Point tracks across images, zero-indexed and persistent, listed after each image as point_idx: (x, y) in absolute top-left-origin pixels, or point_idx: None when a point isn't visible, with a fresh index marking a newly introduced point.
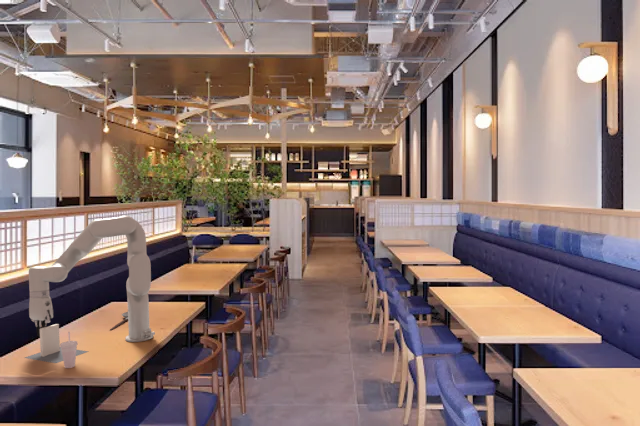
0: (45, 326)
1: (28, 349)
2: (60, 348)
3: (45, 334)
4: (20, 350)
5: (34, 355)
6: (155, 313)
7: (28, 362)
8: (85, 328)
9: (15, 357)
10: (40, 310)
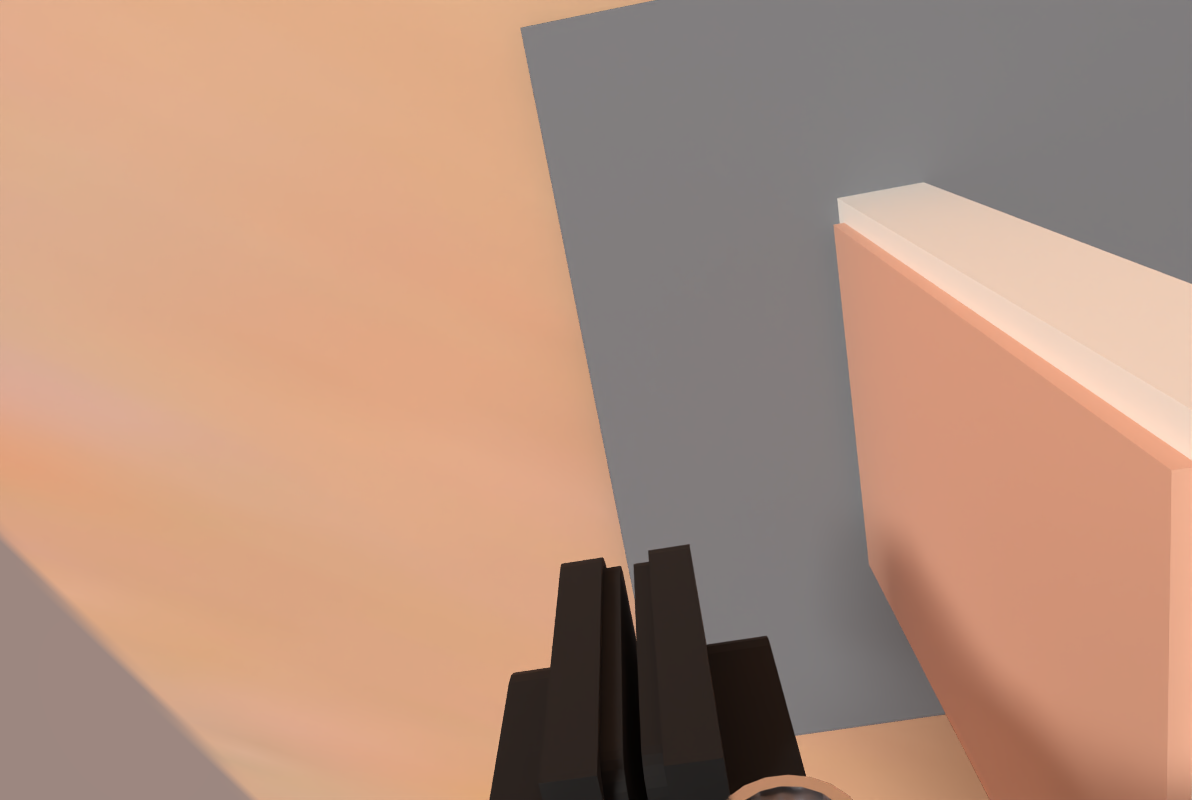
0: (718, 734)
1: (99, 451)
2: (742, 67)
3: None
4: (43, 560)
5: (709, 607)
6: None
7: (950, 788)
8: None
9: (449, 777)
10: None
